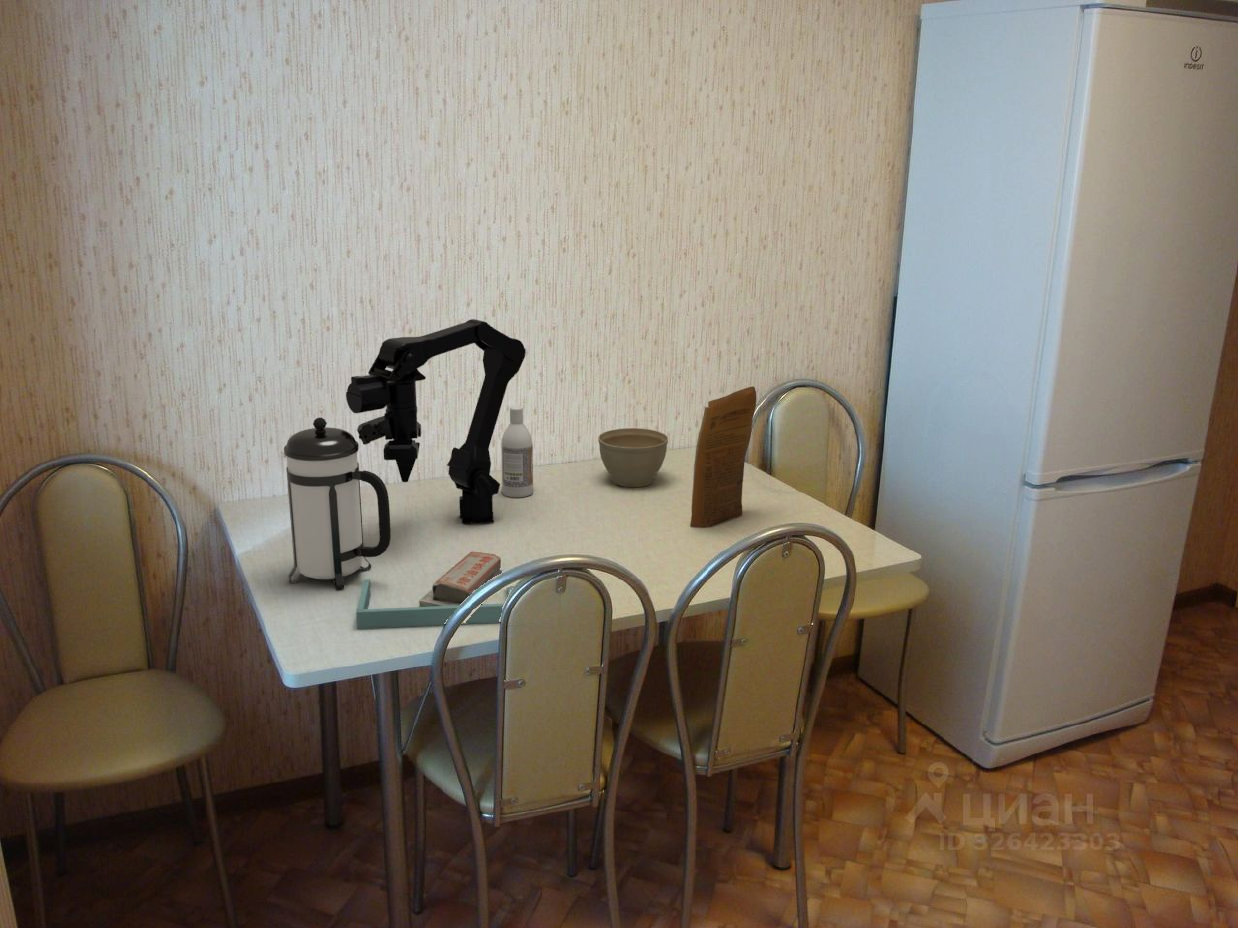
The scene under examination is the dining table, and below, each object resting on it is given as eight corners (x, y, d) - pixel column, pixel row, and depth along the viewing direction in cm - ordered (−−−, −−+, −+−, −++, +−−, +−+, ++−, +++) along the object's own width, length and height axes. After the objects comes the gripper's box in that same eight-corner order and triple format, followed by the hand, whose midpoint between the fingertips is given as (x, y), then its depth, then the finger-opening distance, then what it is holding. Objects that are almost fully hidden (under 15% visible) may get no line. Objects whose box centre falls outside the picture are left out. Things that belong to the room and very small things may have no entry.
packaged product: (461, 546, 202) (511, 553, 200) (462, 570, 204) (511, 577, 201) (417, 583, 186) (470, 591, 183) (418, 609, 187) (471, 617, 185)
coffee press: (295, 599, 189) (281, 434, 180) (283, 566, 203) (270, 411, 194) (394, 584, 196) (386, 424, 187) (376, 553, 210) (367, 403, 201)
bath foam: (535, 497, 243) (534, 410, 237) (504, 499, 241) (502, 412, 235) (530, 487, 249) (529, 403, 243) (500, 489, 248) (498, 404, 242)
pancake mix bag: (760, 513, 235) (768, 387, 227) (701, 534, 222) (706, 401, 214) (737, 505, 240) (743, 381, 231) (677, 525, 227) (681, 395, 219)
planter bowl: (589, 474, 260) (590, 430, 256) (653, 469, 264) (654, 425, 261) (609, 495, 245) (609, 449, 242) (676, 489, 250) (678, 444, 246)
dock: (512, 589, 195) (512, 573, 194) (515, 621, 182) (515, 605, 181) (364, 595, 192) (363, 579, 191) (357, 628, 179) (356, 612, 178)
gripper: (363, 394, 217) (367, 468, 222) (353, 418, 200) (358, 498, 204) (419, 393, 219) (422, 467, 224) (415, 416, 201) (418, 496, 206)
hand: (405, 481), depth 214 cm, fingers closed
